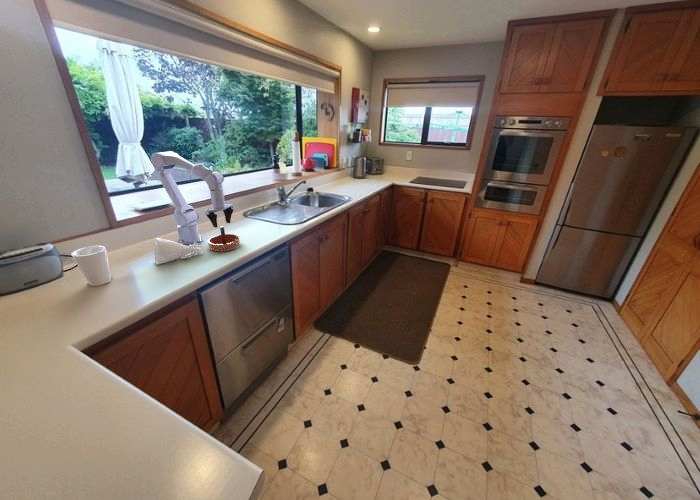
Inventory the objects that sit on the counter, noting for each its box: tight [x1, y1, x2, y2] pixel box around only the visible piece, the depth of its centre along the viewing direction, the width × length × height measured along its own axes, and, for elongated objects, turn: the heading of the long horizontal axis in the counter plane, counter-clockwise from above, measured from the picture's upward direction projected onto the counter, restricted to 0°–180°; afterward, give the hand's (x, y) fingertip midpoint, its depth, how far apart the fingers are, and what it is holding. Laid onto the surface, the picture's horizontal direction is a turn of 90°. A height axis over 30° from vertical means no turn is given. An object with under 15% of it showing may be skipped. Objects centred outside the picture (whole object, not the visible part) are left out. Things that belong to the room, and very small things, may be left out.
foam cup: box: [70, 245, 112, 287], centre depth 104 cm, size 10×9×13 cm
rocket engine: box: [153, 237, 203, 265], centre depth 126 cm, size 12×12×18 cm
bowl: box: [207, 233, 241, 253], centre depth 140 cm, size 14×14×4 cm
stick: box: [219, 225, 227, 244], centre depth 138 cm, size 2×2×10 cm
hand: (222, 224), depth 139 cm, fingers open, 7 cm apart
